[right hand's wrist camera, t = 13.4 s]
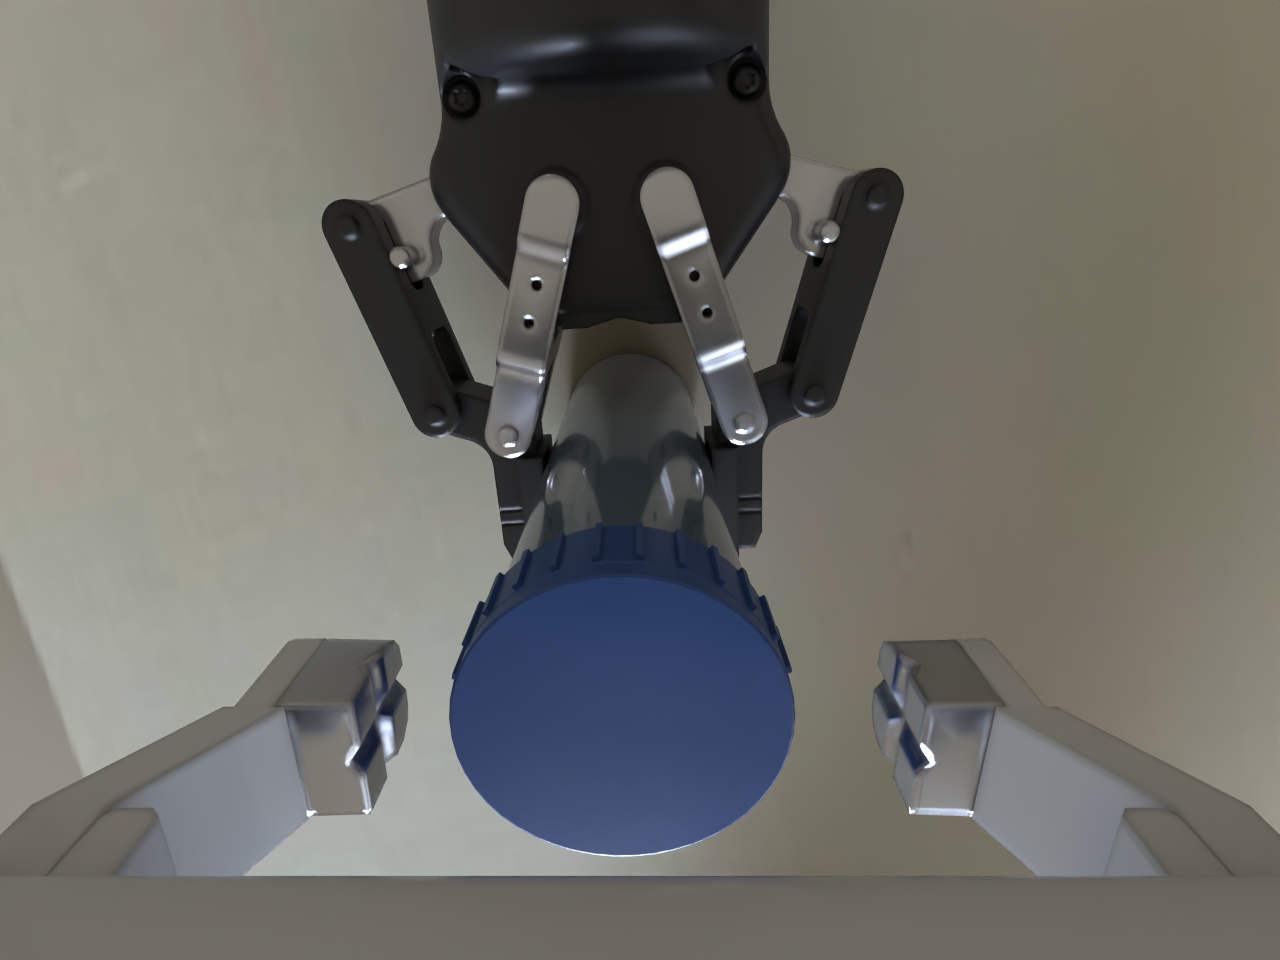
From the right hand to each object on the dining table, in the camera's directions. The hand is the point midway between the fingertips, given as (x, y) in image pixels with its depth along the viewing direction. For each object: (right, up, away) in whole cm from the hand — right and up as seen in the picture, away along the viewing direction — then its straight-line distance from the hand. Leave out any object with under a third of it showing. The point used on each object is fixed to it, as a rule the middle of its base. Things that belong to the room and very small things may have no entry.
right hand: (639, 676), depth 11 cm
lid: (0, 0, 0) cm, 1 cm away
